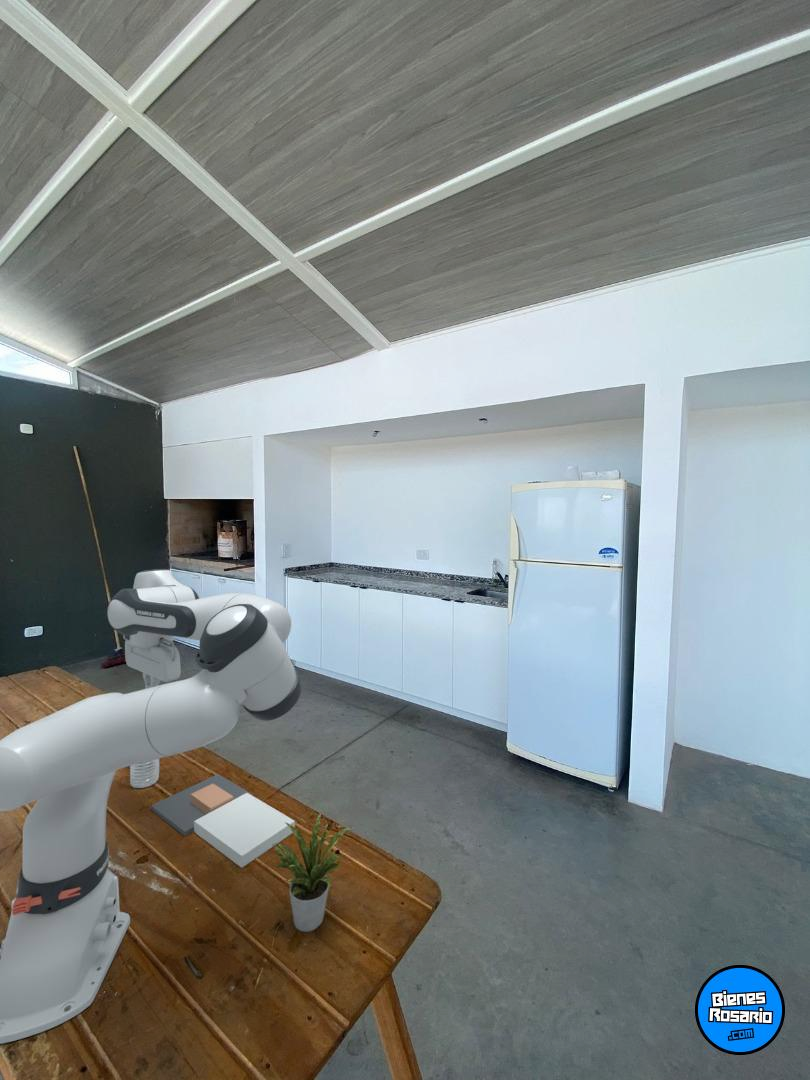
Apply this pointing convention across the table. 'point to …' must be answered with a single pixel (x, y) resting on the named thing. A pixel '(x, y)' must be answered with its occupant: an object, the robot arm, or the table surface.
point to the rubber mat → (185, 813)
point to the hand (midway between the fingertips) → (152, 691)
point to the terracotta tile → (210, 798)
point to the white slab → (243, 828)
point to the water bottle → (144, 774)
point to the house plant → (309, 876)
